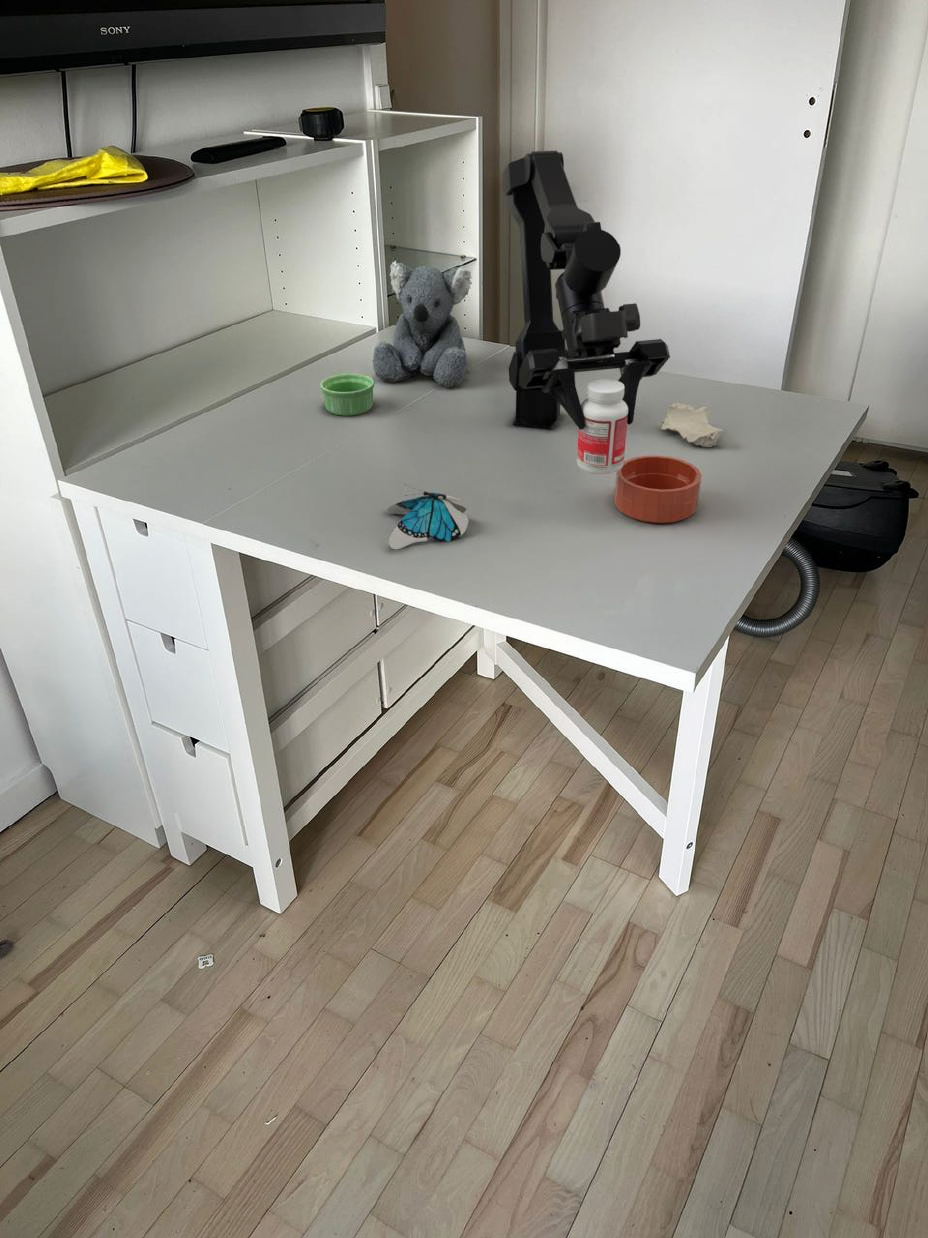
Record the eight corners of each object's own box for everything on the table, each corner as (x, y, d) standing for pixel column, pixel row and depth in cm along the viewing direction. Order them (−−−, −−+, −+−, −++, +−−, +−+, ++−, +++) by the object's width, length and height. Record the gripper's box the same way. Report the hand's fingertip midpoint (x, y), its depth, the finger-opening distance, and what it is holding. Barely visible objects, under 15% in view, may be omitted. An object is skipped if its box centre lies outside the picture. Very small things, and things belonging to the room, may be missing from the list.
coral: (709, 452, 146) (713, 425, 144) (653, 433, 153) (655, 407, 150) (729, 441, 150) (733, 414, 147) (673, 423, 156) (676, 397, 153)
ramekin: (313, 413, 161) (310, 388, 159) (338, 395, 168) (336, 370, 166) (360, 420, 159) (358, 395, 156) (384, 401, 165) (383, 376, 163)
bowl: (607, 518, 129) (610, 485, 126) (621, 483, 138) (624, 451, 135) (691, 529, 126) (696, 495, 124) (700, 493, 135) (705, 460, 132)
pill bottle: (613, 453, 130) (620, 374, 123) (630, 472, 125) (638, 391, 118) (569, 458, 129) (574, 378, 122) (585, 478, 124) (590, 396, 117)
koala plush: (368, 383, 173) (361, 272, 162) (397, 351, 187) (391, 247, 176) (462, 390, 169) (461, 277, 158) (483, 357, 184) (484, 251, 173)
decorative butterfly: (475, 517, 121) (397, 503, 119) (463, 561, 125) (387, 548, 123) (468, 482, 130) (395, 469, 128) (457, 524, 133) (386, 511, 131)
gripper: (527, 285, 115) (552, 407, 112) (672, 274, 118) (699, 392, 116) (509, 330, 126) (530, 442, 123) (642, 319, 129) (666, 427, 127)
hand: (606, 425), depth 122 cm, fingers closed on pill bottle, 6 cm apart
